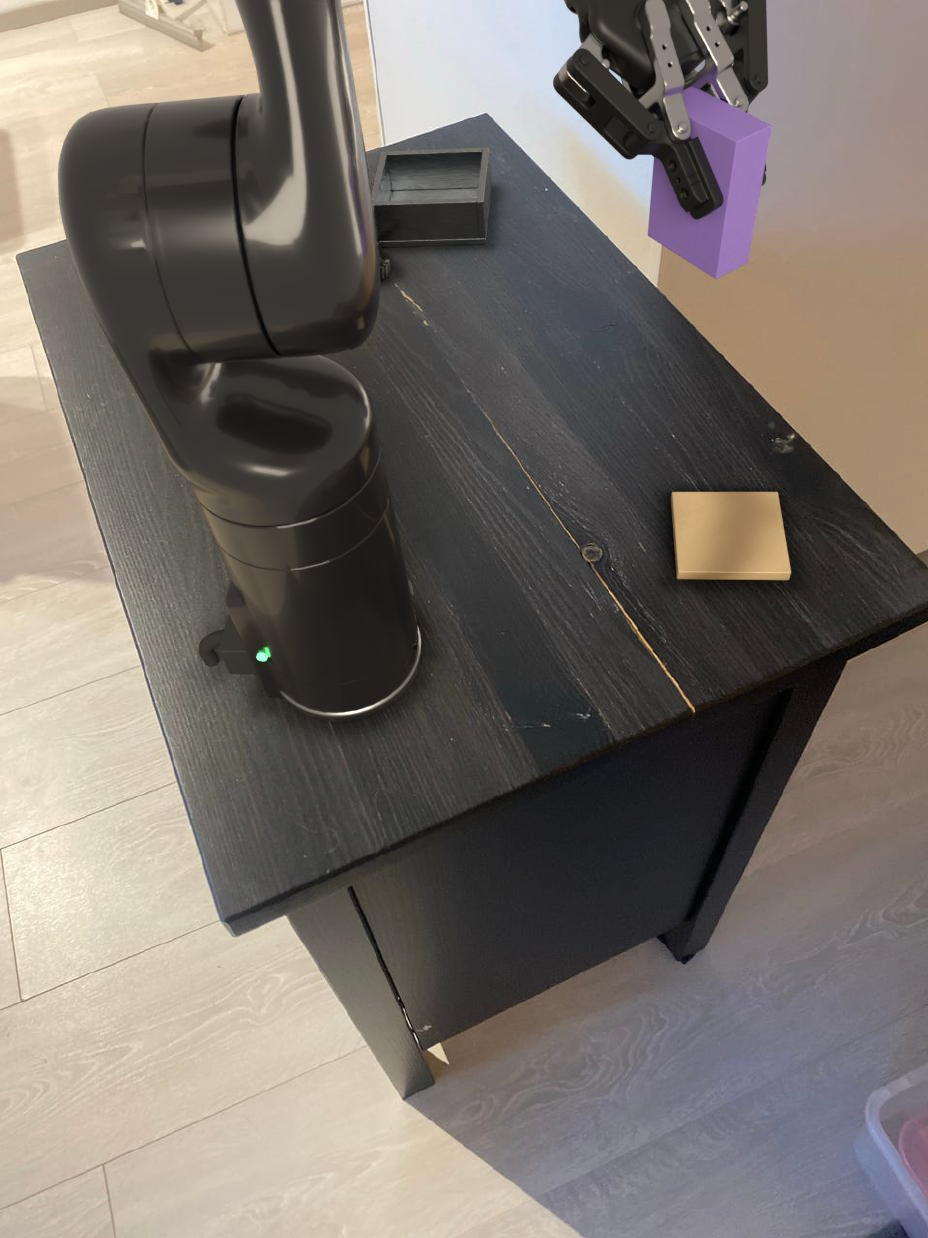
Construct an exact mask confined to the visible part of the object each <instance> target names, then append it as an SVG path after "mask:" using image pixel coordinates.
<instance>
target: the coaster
mask: <svg viewBox="0 0 928 1238" xmlns="http://www.w3.org/2000/svg"><path fill="white" fill-rule="evenodd" d="M670 507H671V508H670V509H671V521H672V535H673V547H674V561H675V573H676V579H677V580H720V581H721V580H726V581H727V580H730V581H732V580H734V581H735V580H736V581H737V580H738V581H751V580H752V581H789V580H790V578H791V574H792V568H791V562H790V557H789V556H790V555H789V550H788V544H787V539H786V534H785V533H786V532H785V528H784V526H785V525H784V521H783V516H782V515H783V514H782V508H781V503H780V497H779V492H778V491H672V492H671V496H670Z"/></svg>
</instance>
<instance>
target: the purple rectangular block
mask: <svg viewBox="0 0 928 1238" xmlns="http://www.w3.org/2000/svg"><path fill="white" fill-rule="evenodd" d="M682 96H683V99H684V103H685V106H686V109H687V112H688V116H689V119H690V122H691V126H692V133H691V136H690V137H691V139H694V138H696V137H699V140H700V142H701V145H702V147H703V149H704V152H705V154H706V156H707V159H708V161H709V164H710V166H711V168H712V171H713V173H714V175H715V178H716V180H717V183H718V185H719V187H720V190H721V192H722V195H723V204H722V206H721V207H719V208H718V209H716V210H714V211H713V212H711V213H710V214H708V215H706V216H704V217H702V218H700V219H698V220H696V219H694V218H693V217H692V216H691V214H690V212H686V211H685V210H684V209H683V208H682V207H681V206H680V204H679V201H678V199H677V197H676V196H677V195H676V194H675V192H674V190H673V187H672V185H671V183H670V180H669V178H668V176H667V173H666V171H665V169H664V166H663V164H662V162H661V161H660V160H659V159H656V158H655V157H653V165H652V177H651V190H650V202H649V213H648V227H647V237H649V238H650V239H652V240H653V241H655V242H657V243H658V244H660V245H661V246H663V247H665V248H666V249H668V250H669V251H671V252H673V253H674V254H675V255H677V256H679V257H680V258H681V259H683V260H685V261H686V262H688V263H689V264H691V265H693V266H694V267H696V268H697V269H699V270H700V271H702V272H704V273H705V274H707V275H708V276H710V277H712V278H713V279H715V280H718V279H720V278H722V277H724V276H726V275H727V274H730V273H731V272H733V271H735V270H737V269H739V268H741V267H743V266H745V265H747V264H748V263H749V257H750V253H751V246H752V241H753V236H754V230H755V224H756V218H757V214H758V209H759V208H758V207H759V202H760V196H761V191H762V186H761V185H762V179H763V174H764V168H765V163H766V164H767V156H768V150H769V144H770V140H771V134H772V127H773V125H772V124H771V123H768V122H766V121H765V120H762V119H760V118H758V117H757V116H754V115H753V114H750V113H746V112H744V111H742V110H740V109H738V108H736V107H734V106H732V105H730V104H728V103H726V102H724V101H722V100H720V98H719V97H717V96H716V97H717V98H716V97H714V96H712V95H710V94H708V93H706V92H704V91H702V90H700V89H696V88H694V87H689V88H687V89H685V90H683V92H682Z"/></svg>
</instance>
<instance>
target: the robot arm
mask: <svg viewBox="0 0 928 1238" xmlns="http://www.w3.org/2000/svg"><path fill="white" fill-rule="evenodd" d="M233 1H234V4H235V6H236V8H237V11H238V14H239V16H240V19H241V23H242V25H243V29H244V32H245V35H246V39H247V42H248V45H249V49H250V52H251V55H252V58H253V63H254V66H255V70H256V71H255V72H256V76H257V82H258V88H259V92H253V93H252V92H251V93H247V94H236V95H225V96H215V97H214V96H213V97H204V98H193V99H192V98H191V99H181V100H169V101H159V102H147V103H145V102H144V103H135V104H134V103H133V104H123V105H117V106H109V107H104V108H100V109H97V110H93V111H89V112H87V113H86V114H84V115H83V116H81V117H80V118H78V119H77V120H76V121H75V122H74V123H73V124H72V126H71V127H70V129H68V131H67V134H66V136H65V138H64V140H63V143H62V147H61V150H60V155H59V157H58V158H59V159H58V165H57V191H58V205H59V212H60V219H61V222H62V226H63V227H62V228H63V231H64V235H65V239H66V244H67V247H68V251H69V255H70V259H71V261H72V264H73V267H74V270H75V273H76V275H77V277H78V280H79V282H80V285H81V288H82V290H83V293H84V295H85V298H86V300H87V302H88V305H89V308H90V310H91V312H92V314H93V316H94V318H95V320H96V322H97V324H98V326H99V328H100V330H101V332H102V335H103V336H104V338H105V340H106V342H107V344H108V346H109V348H110V350H111V351H112V354H113V355H114V357H115V359H116V361H117V362H118V364H119V366H120V368H121V370H122V372H123V373H124V375H125V377H126V379H127V381H128V383H129V386H131V388H132V391H133V392H134V394H135V396H136V397H137V400H138V401H139V403H140V405H141V407H142V409H143V411H144V413H145V415H146V417H147V419H148V420H149V422H150V424H151V426H152V428H153V430H154V432H155V434H156V436H157V439H158V440H159V442H160V444H161V446H162V449H163V450H164V452H165V454H166V456H167V458H168V459H169V461H170V463H171V464H172V466H173V467H174V469H176V471H177V472H178V473H179V474H180V475H181V477H183V478H184V479H186V481H187V482H188V484H189V488H190V489H191V491H192V493H193V496H194V498H195V500H196V502H197V505H198V507H199V509H200V512H201V514H202V516H203V518H204V521H205V524H206V525H207V528H208V530H209V533H210V534H211V536H212V538H213V541H214V543H215V545H216V548H217V550H218V552H219V554H220V557H221V559H222V561H223V564H224V566H225V568H226V571H227V573H228V575H229V581H228V584H227V588H226V591H225V595H224V605H225V608H226V611H227V612H228V615H227V619H226V622H225V626H224V628H223V629H220V630H216V631H213V632H211V633H208V634H207V635H206V636H204V637H203V638H202V639H201V640H200V641H199V644H198V654H199V657H200V658H201V660H202V661H203V663H204V665H205V666H207V667H208V668H210V667H211V668H213V667H215V666H217V665H219V663H220V657H221V659H222V661H223V663H224V665H225V667H226V669H227V671H228V673H229V675H257V678H258V680H259V682H260V684H261V687H262V689H263V690H264V694H265V695H266V696H267V698H273V699H275V698H276V699H277V698H278V699H283V700H284V701H285V702H286V703H287V704H288V705H289V706H290V707H291V708H293V709H294V710H296V711H297V712H298V713H300V714H302V715H305V716H307V717H309V718H312V719H315V720H319V721H323V722H333V723H339V722H341V723H343V722H352V721H357V720H361V719H365V718H368V717H372V716H373V715H376V714H378V713H380V712H382V711H384V710H385V709H387V708H389V707H391V706H392V705H393V704H395V703H396V702H397V701H398V700H400V699H401V698H402V696H403V695H405V693H406V692H407V691H408V690H409V689H410V687H412V684H413V683H414V681H415V679H416V678H417V676H418V673H419V671H420V667H421V665H422V660H423V643H422V637H421V632H420V628H419V626H418V621H417V617H416V614H415V609H414V604H413V598H412V596H415V594H414V587H413V583H412V582H411V581H410V580H409V579H408V574H407V568H406V563H405V558H404V554H403V549H402V543H401V537H400V533H399V529H398V523H397V517H396V513H395V508H394V503H393V499H392V493H391V488H390V482H389V478H388V473H387V468H386V463H385V457H384V453H383V447H382V443H381V438H380V433H379V432H380V431H379V428H378V422H377V418H376V413H375V409H374V405H373V403H372V399H371V397H370V395H369V393H368V391H367V389H366V387H365V386H364V384H363V383H362V381H361V380H360V379H359V378H358V377H357V376H356V375H355V374H354V373H353V372H352V371H351V370H350V369H348V368H347V367H346V366H344V365H343V364H341V363H339V361H336V360H334V359H332V358H330V357H328V356H326V355H333V354H339V353H343V352H348V351H352V350H353V351H354V350H355V349H358V348H359V347H361V346H362V345H363V344H364V343H365V342H366V341H367V340H368V338H369V337H370V336H371V334H372V332H373V330H374V328H375V324H376V321H377V316H378V311H379V306H380V293H381V292H380V291H381V280H380V259H379V246H378V235H377V226H376V219H375V212H374V205H373V198H372V183H371V178H370V170H369V165H368V163H369V162H368V158H367V151H366V146H365V140H364V133H363V128H362V127H363V126H362V122H361V121H362V120H361V116H360V109H359V102H358V97H357V91H356V83H355V79H354V78H355V77H354V72H353V66H352V59H351V54H350V47H349V43H348V35H347V30H346V24H345V17H344V12H343V4H342V0H233ZM563 2H564V4H565V6H566V8H567V9H568V11H570V12H571V13H572V14H574V15H576V16H577V19H578V37H579V41H580V45H579V47H578V48H577V49H576V50H575V51H574V53H572V55H571V56H570V57H569V58H568V59H567V60H566V61H565V62H564V64H563V65H562V66H560V69H559V71H558V72H557V73H556V74H555V75H554V76H553V78H552V79H553V80H552V86H553V89H554V91H555V92H556V93H557V94H558V95H559V96H560V97H561V99H563V100H564V101H566V103H567V104H568V105H569V106H570V107H571V108H572V109H573V110H574V111H575V112H576V113H577V114H578V115H579V116H580V117H581V118H582V119H583V120H584V121H585V122H586V123H587V124H589V125H590V126H591V128H593V129H594V131H596V132H597V133H598V135H600V136H601V137H602V138H603V139H604V140H605V141H606V142H607V143H608V144H609V145H610V146H611V147H612V148H613V149H614V150H615V151H616V152H617V153H618V154H619V155H620V156H621V157H623V158H624V159H626V160H633V159H635V158H637V156H651V157H653V158H654V157H655V158H656V159H659V160H660V161H661V162H662V164H663V166H664V169H665V171H666V173H667V176H668V178H669V180H670V183H671V185H672V187H673V190H674V192H675V194H676V195H677V196H676V197H677V199H678V201H679V204H680V206H681V207H682V208H683V209H684V210H685V211H686V212H690V214H691V216H692V217H693V218H694V219H696V220H698V219H700V218H702V217H704V216H706V215H708V214H710V213H711V212H713V211H714V210H716V209H718V208H719V207H721V206H722V204H723V195H722V192H721V190H720V187H719V185H718V183H717V180H716V178H715V175H714V173H713V171H712V168H711V166H710V164H709V161H708V159H707V156H706V154H705V152H704V149H703V147H702V145H701V142H700V140H699V137H696V138H694V139H691V137H690V136H691V133H692V126H691V122H690V119H689V116H688V112H687V109H686V106H685V103H684V99H683V96H682V92H683V90H685V89H687V88H689V87H694V88H696V89H700V90H702V91H704V92H706V93H708V94H710V95H712V96H714V97H716V98H718V99H720V100H722V101H724V102H726V103H728V104H730V105H732V106H734V107H736V108H738V109H740V110H742V111H744V112H746V113H748V111H749V107H750V105H751V104H752V103H753V101H754V100H755V99H756V98H757V97H758V95H759V94H760V93H762V92H763V91H764V90H765V89H767V87H768V85H769V59H768V58H769V57H768V56H769V55H768V51H769V50H768V21H767V20H768V18H767V17H768V16H767V15H768V13H767V10H768V9H767V0H563ZM703 62H704V66H703V67H702V68H701V69H700V70H699V71H697V70H696V68H697V67H698V66H700V64H702V63H703ZM612 72H613V73H614V74H616V75H617V76H618V77H619V78H620V80H619V79H618V78H616V76H615V75H614V74H613V73H612ZM712 87H713V88H712ZM713 89H714V90H715V92H716V94H717V96H718V97H717V96H716V94H715V92H714V90H713ZM748 114H749V113H748ZM767 170H768V169H767V162H766V163H765V168H764V174H763V179H762V185H761V187H763V186H764V185H765V184H766V182H767V174H766V172H767ZM217 647H219V648H218V653H219V654H218V653H217V652H216V650H215V648H217ZM219 655H220V657H219Z"/></svg>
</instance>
